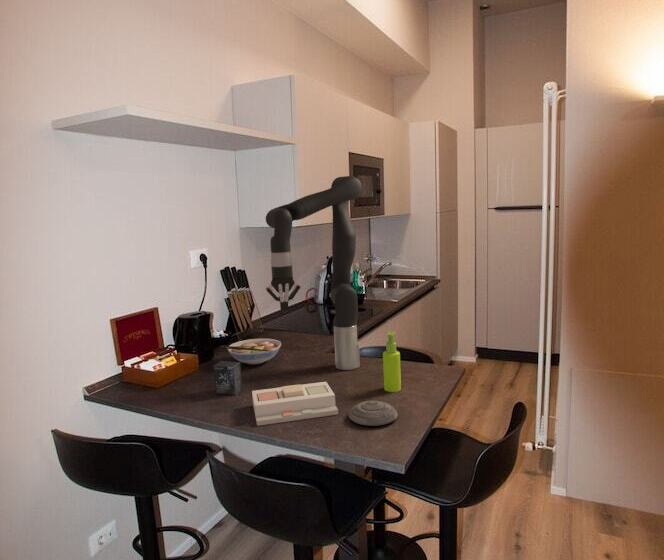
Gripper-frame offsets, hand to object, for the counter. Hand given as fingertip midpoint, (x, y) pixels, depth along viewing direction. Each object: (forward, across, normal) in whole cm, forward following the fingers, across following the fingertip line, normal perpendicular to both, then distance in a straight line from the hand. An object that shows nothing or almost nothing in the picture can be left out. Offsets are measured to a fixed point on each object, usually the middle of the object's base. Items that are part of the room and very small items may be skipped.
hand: (284, 311), depth 182 cm
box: (+27, +22, +2) cm, 35 cm away
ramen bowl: (+27, +10, -30) cm, 42 cm away
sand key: (+24, +2, +24) cm, 34 cm away
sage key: (+25, -6, +24) cm, 35 cm away
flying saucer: (+28, -20, +40) cm, 52 cm away
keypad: (+27, +2, +26) cm, 37 cm away
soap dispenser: (+27, -34, +19) cm, 48 cm away
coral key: (+25, +10, +24) cm, 36 cm away
